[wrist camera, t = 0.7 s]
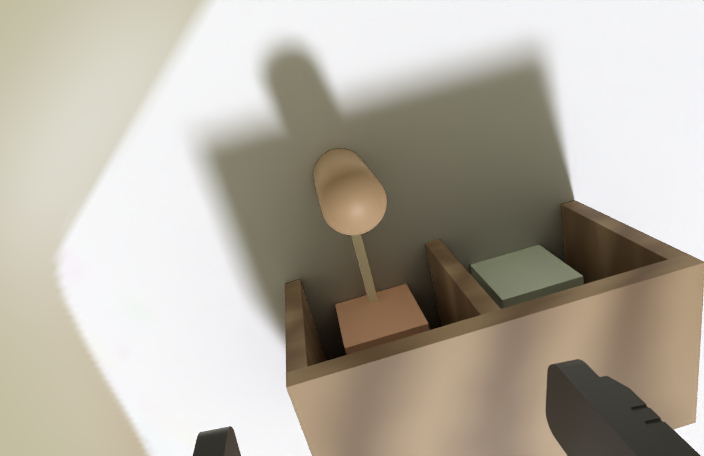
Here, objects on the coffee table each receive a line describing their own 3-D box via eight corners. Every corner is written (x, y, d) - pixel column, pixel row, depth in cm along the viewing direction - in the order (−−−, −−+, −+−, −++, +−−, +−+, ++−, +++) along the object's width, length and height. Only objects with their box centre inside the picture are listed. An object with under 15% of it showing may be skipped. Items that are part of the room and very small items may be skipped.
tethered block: (373, 138, 27) (397, 158, 21) (419, 342, 32) (448, 401, 27) (291, 160, 26) (294, 186, 21) (352, 362, 32) (367, 426, 26)
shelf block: (538, 243, 31) (583, 276, 26) (543, 304, 33) (587, 344, 28) (469, 264, 31) (502, 300, 26) (479, 324, 33) (511, 367, 28)
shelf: (575, 200, 30) (705, 262, 21) (582, 323, 34) (695, 422, 25) (285, 283, 29) (286, 387, 20) (325, 400, 33) (341, 534, 24)
